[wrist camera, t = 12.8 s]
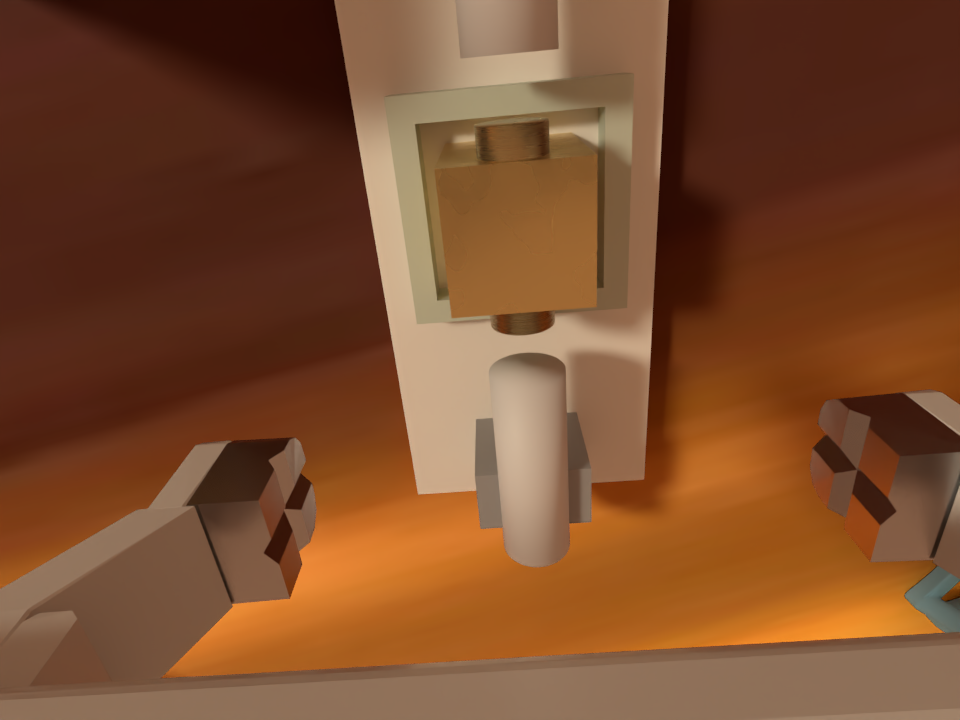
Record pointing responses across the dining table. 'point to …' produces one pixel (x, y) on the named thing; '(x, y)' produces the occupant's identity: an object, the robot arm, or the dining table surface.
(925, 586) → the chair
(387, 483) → the dining table surface
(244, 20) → the dining table surface
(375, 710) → the robot arm
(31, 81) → the dining table surface
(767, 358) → the dining table surface
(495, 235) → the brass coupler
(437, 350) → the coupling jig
